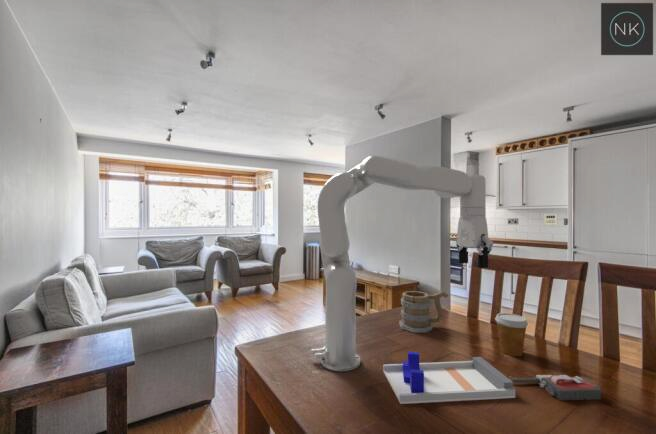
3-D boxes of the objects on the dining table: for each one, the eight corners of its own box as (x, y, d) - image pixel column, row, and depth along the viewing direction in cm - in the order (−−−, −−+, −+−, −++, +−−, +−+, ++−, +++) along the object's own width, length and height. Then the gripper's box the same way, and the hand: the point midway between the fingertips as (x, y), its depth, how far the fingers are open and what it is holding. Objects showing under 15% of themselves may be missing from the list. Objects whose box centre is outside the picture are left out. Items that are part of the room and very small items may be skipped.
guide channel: (400, 403, 72) (400, 389, 72) (383, 371, 88) (383, 359, 88) (515, 397, 75) (515, 383, 75) (478, 367, 90) (478, 355, 90)
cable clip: (402, 371, 87) (402, 351, 87) (418, 372, 86) (418, 352, 86) (405, 395, 75) (405, 371, 75) (423, 397, 74) (423, 373, 74)
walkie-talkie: (577, 381, 83) (508, 383, 82) (577, 366, 83) (508, 367, 82) (608, 401, 74) (530, 402, 74) (608, 383, 74) (530, 385, 74)
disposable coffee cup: (525, 349, 103) (525, 314, 103) (530, 361, 94) (530, 323, 94) (493, 344, 107) (493, 311, 107) (496, 355, 98) (496, 319, 98)
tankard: (403, 332, 118) (403, 295, 118) (397, 321, 130) (397, 287, 131) (454, 333, 117) (454, 295, 117) (443, 322, 130) (443, 288, 130)
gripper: (447, 213, 105) (447, 261, 105) (480, 212, 88) (480, 270, 88) (466, 213, 106) (466, 261, 106) (502, 212, 89) (502, 269, 89)
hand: (472, 265), depth 97 cm, fingers open, 9 cm apart
